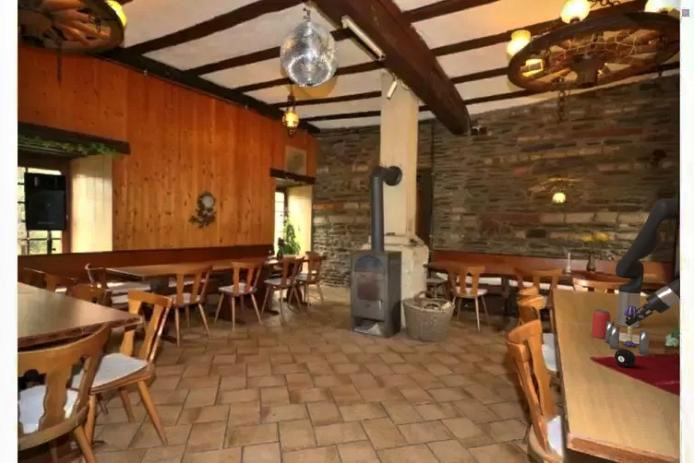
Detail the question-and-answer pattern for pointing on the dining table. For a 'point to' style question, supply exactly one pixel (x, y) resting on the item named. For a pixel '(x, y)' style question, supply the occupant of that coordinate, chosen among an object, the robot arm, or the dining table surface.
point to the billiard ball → (625, 357)
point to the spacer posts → (613, 338)
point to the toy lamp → (630, 313)
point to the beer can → (600, 323)
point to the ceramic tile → (625, 336)
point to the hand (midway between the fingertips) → (626, 322)
